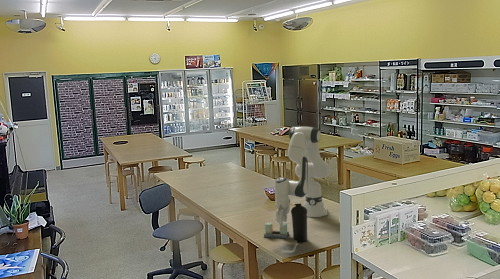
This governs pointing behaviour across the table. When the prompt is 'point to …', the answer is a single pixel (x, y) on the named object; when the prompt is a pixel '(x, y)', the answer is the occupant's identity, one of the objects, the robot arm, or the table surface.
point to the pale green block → (283, 229)
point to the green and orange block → (268, 228)
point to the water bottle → (299, 223)
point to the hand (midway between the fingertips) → (283, 224)
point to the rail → (276, 235)
